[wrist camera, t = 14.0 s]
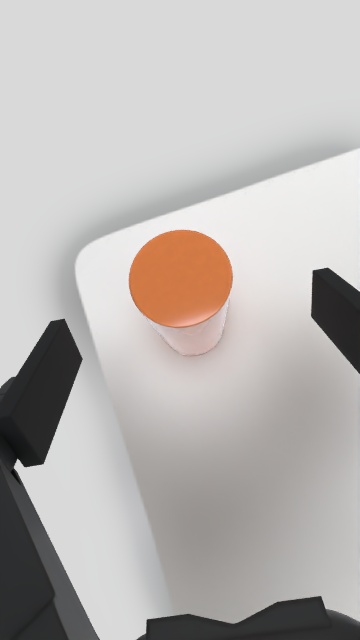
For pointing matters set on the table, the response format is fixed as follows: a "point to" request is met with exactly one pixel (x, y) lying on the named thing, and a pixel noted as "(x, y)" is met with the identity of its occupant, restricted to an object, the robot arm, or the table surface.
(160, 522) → the table surface
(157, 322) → the canister
